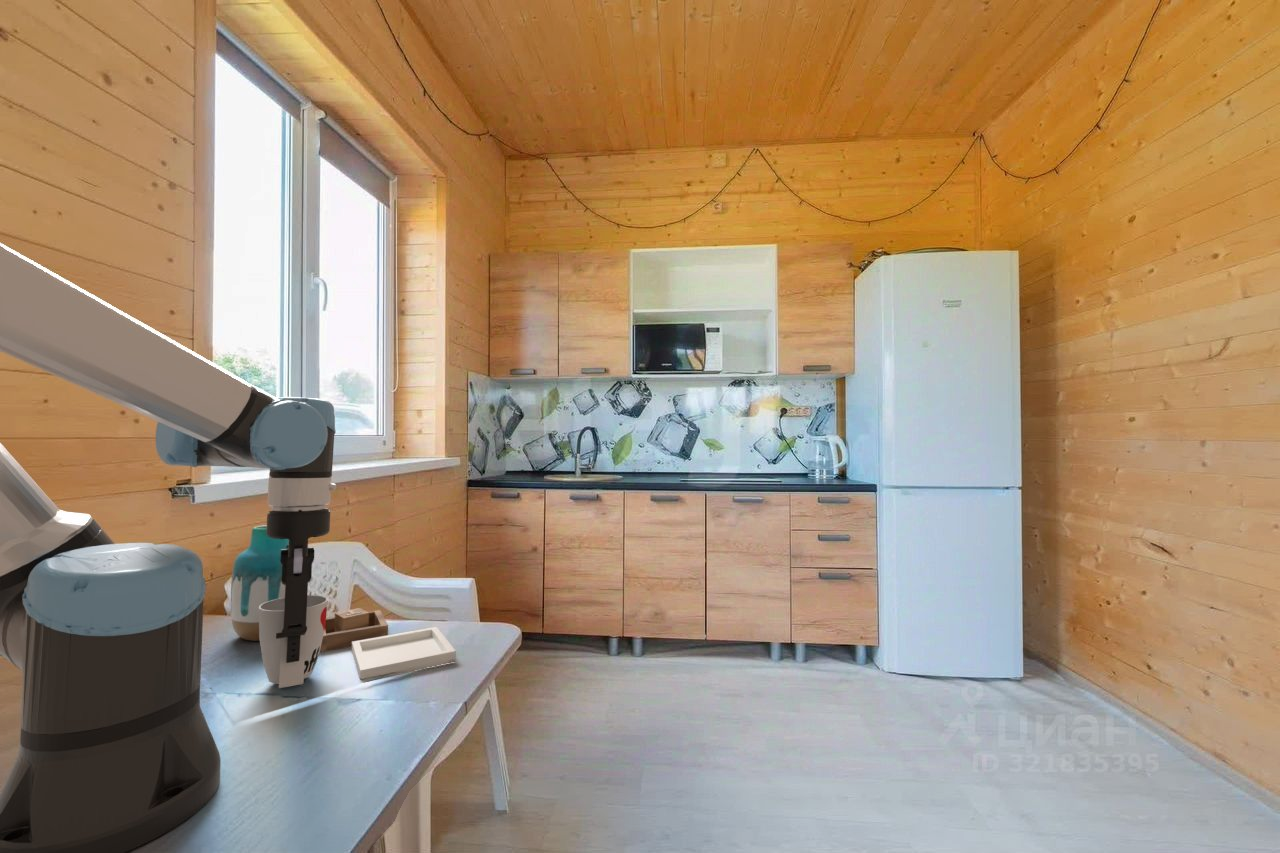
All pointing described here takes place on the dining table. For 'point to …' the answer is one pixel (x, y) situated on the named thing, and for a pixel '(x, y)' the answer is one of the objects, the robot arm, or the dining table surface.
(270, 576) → the vase
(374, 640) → the tray
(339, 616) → the letter cube
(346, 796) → the dining table surface
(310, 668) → the cup
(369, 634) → the brown wooden tray
